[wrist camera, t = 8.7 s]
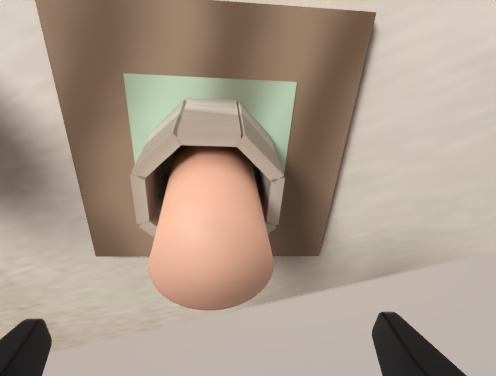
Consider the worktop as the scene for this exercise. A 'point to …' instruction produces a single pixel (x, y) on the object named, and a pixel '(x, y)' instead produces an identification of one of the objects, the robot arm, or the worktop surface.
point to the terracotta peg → (211, 231)
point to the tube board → (204, 105)
